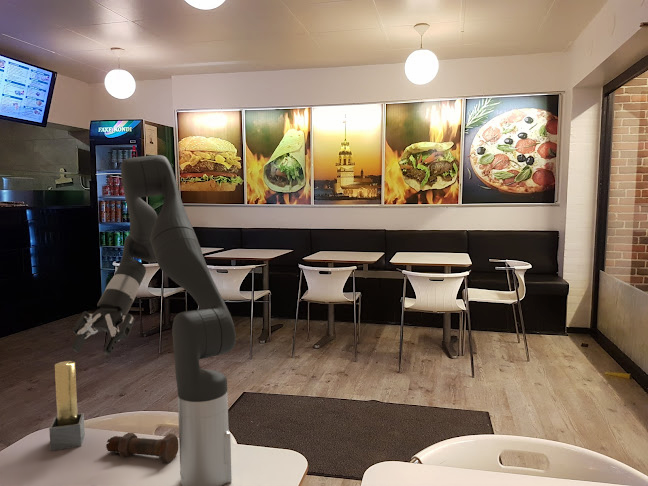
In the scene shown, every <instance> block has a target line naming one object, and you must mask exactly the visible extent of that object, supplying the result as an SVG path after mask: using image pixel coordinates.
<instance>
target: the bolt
mask: <svg viewBox="0 0 648 486" xmlns="http://www.w3.org/2000/svg"><path fill="white" fill-rule="evenodd" d="M105 448H106V450H107V452H110V453H118V454H119V456H120V457H121V458H130V457H132V456H133V455H142V456H143V455H144V456H153V457H158V458H159V459H160V461H161V462H162V463H163V464H170V463H171V462H173V461H174V460H175V458H176V457H177V454H178V453H179V452H178V451H179V449H180V447H179V437H177V435H176V434H174V433H167V435H165V436H164V437H163V438H160V439H159V438H157V439H156V438H155V439H154V438H145V437H143V438H142V437H138V436H137V435H136V434H135V433H134V432H127V433H125V434H124V435H122V436H120V435H119V436H118V435H114V436H112V437H110V438H109V439H107V441H106V445H105Z"/></svg>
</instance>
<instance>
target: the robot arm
mask: <svg viewBox="0 0 648 486" xmlns="http://www.w3.org/2000/svg"><path fill="white" fill-rule="evenodd" d="M120 177H121V183H122V188H123V193H124V199H125V204H126V207H127V212H128V215H129V232H130V234H128V235H127V236H126V237H125V239H124V244H123V250H122V256H121V259H120V263H119V265H118V267H117V269H116V270H115V273H114V275H113V277H112V278H111V279H110V280H109V282H108V283H107V285H106V287H105V290H104V291H103V293H102V295H101V296H100V299H99V301H98V302H97V304H96V305H97V306H96V310H95V311H94V313H89V312H87V311H86V310H85V311H83V312H82V314H81V315H80V317H79V318H78V321H76V323H75V325H74V326H73V328H72V332H73V333H74V334H75V335H76V337H75V339H74V340H73V343H72V345H71V349H72V351H74V352H75V353H80V352H81V350H82V348H83V346H84V344H85V342H86V341H87V338H89V337H90V336H92V335H95V334H97V333H98V332H106V333H110V336H109V337H108V338H107V341H106V343H105V345H104V347H103V349H102V352H103V353H104V355H108V356H110V355H111V353H113V352H114V351H115V348H116V346H117V344H118V342H120V340H128V338H129V336H130V333H131V331H132V329H133V326H134V323H135V318H134V317H133V315H132V314H131V313H129V311H130V309H131V307H132V305H133V303H134V301H135V299H136V297H137V294H138V291H139V288H140V286H141V284H142V282H143V280H144V278H145V275H146V273H147V268H146V266H145V265H144V264H143V263H142V262H140V261H144V262H146V263H157V265H158V268H160V269H161V271H162V272H163V273H164V275H166V276H167V277H168V278H170V279H171V281H173V282H174V283H175V284H176V285H178V286H180V287H181V288H182V289H184V290H185V291H186V292H187V293H188V294H189V295H190V296H191V297H192V298H193V300H194V301H195V303H196V304H197V306H198V308H199V309H191V310H186V311H181V312H178V313H177V314H176V315H175V316H174V319H173V321H172V326H171V327H172V330H171V331H172V334H171V335H172V345H173V357H174V371H175V381H176V387H177V411H178V412H177V414H178V443H179V469H180V470H179V476H180V485H181V486H224V485H226V484H228V483H232V480H233V479H232V448H231V447H232V446H231V445H232V444H231V442H232V440H231V437H232V436H231V432H230V429H229V405H228V403H229V402H228V400H229V398H228V379H227V376H226V375H225V374H224V373H223V372H220V371H217V370H213V369H208V368H207V369H206V368H201V366H200V360H202V359H207V358H212V357H216V356H221V355H224V354H227V353H229V352H231V351H232V350H233V349H234V348H235V345H236V344H237V343H236V341H237V334H236V328H235V323H234V321H233V318H232V314H231V312H230V311H229V309H228V306H227V305H226V303H225V301H224V299H223V297H222V295H221V293H220V290H219V288H218V287H217V285H216V283H215V281H214V279H213V277H212V275H211V272H210V270H209V267H208V265H207V263H206V259H205V257H204V255H203V251H202V248H201V245H200V243H199V240H198V237H197V235H196V233H195V230H194V228H193V225H192V224H191V220H190V218H189V216H188V214H187V211H186V209H185V206H184V203H183V201H182V198H181V197H182V196H181V193H180V190H179V187H178V184H177V180H176V177H175V173H174V170H173V167H172V165H171V163H170V161H169V159H168V158H167V157H166V156H164V155H162V154H154V155H153V154H152V155H145V156H136V157H135V156H134V157H129V158H126V159H124V160H123V161H122V162H121V165H120ZM157 196H162V197H164V198H163V203H162V206H161V210H160V211H159V213H158V214H157V212H156V211H155V209H154V208H153V207H152V206H151V205H150V204H148V202H146V201H144V200H143V199H142V198H148V197H157ZM138 260H140V261H138ZM120 325H121V326H120ZM92 326H93V328H92ZM119 326H120V329H119Z"/></svg>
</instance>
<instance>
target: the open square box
mask: <svg viewBox="0 0 648 486" xmlns="http://www.w3.org/2000/svg"><path fill="white" fill-rule="evenodd" d="M77 414H78V424H73V425H66V426H59V427H58V420H57V416H55V417H53V419H52V422H51V424H50V426H49V429H48V431H49V445H50V446H49V447H50V452H51V451H58V450H64V449H70V448H71V449H72V448H77V447H82V445H83V441H84V438H85V435H86V433H85V432H86V431H85V413H84V412H81V413H77Z"/></svg>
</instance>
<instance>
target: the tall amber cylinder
mask: <svg viewBox="0 0 648 486" xmlns="http://www.w3.org/2000/svg"><path fill="white" fill-rule="evenodd" d="M54 371H55V372H54V375H55V377H54V378H55V397H56V400H55V401H56V417H57V420H58V427H59V426H66V425H73V424H78V414H79V413H78V399H77V397H78V396H77V378H76V377H77V374H76V362H75V361H74V360H65V361H60V362H57V363H55V364H54Z"/></svg>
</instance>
